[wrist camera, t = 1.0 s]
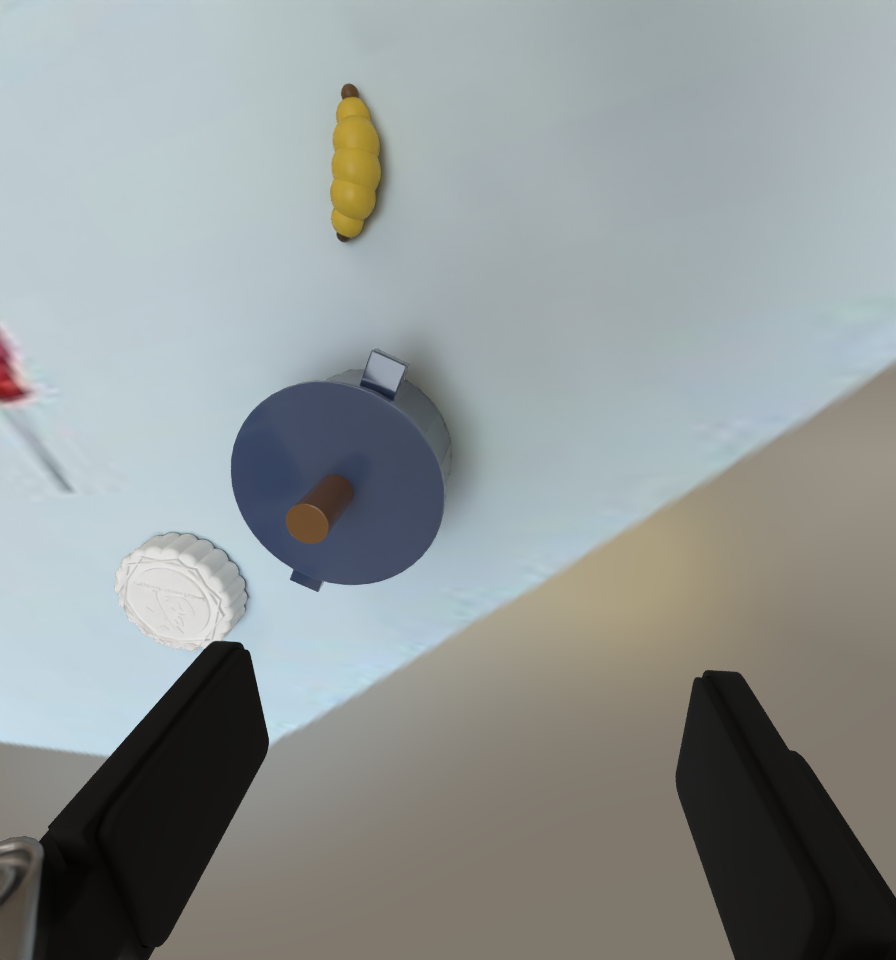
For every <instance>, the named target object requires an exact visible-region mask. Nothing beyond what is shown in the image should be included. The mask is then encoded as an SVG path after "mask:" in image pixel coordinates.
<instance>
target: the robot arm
mask: <svg viewBox="0 0 896 960" xmlns="http://www.w3.org/2000/svg"><path fill="white" fill-rule="evenodd" d="M268 746H269V737H268V733H267V728H266V724H265V719H264V715H263V710H262V705H261V701H260V696H259V692H258V687H257V683H256V678H255V673H254V669H253V664H252V660H251V655H250V652H249V651H248V650H245V649H244V647H243V645H242V644H241V643H239V642H227V641H213V642H211V643H210V644H209V645H208V646H207V647H206V648H205V649H204V650H203V651H202V653H201V654H200V655H199V656H198V657H197V658H196V659H195V661H194V662H193V663H192V664H191V665H190V666H189V667H188V668H187V670H186V671H185V672H184V673H183V674H182V675H181V676H180V678H179V679H178V680H177V681H176V682H175V683H174V684H173V686H172V687H171V688H170V689H169V690H168V691H167V692H166V693H165V695H164V696H163V697H162V698H161V699H160V700H159V701H158V703H157V704H156V705H155V706H154V707H153V708H152V709H151V710H150V712H149V713H148V714H147V715H146V716H145V717H144V718H143V720H142V721H141V722H140V723H139V724H138V725H137V726H136V727H135V729H134V730H133V731H132V732H131V733H130V734H129V735H128V737H127V738H126V739H125V740H124V741H123V742H122V743H121V744H120V746H119V747H118V748H117V749H116V750H115V751H114V752H113V754H112V755H111V756H110V757H109V758H108V759H107V760H106V762H105V763H104V764H103V765H102V766H101V767H100V768H99V770H98V771H97V772H96V773H95V774H94V775H93V776H92V777H91V779H90V780H89V781H88V782H87V783H86V784H85V785H84V786H83V788H82V789H81V790H80V791H79V792H78V793H77V794H76V796H75V797H74V798H73V799H72V800H71V801H70V802H69V804H68V805H67V806H66V807H65V808H64V809H63V810H62V811H61V813H60V814H59V815H58V816H57V817H56V818H55V819H54V821H53V822H52V823H51V824H50V825H49V826H48V828H49V831H48V832H47V833H46V834H45V835H44V836H43V837H42V838H41V840H40V841H39V842H38V841H37V840H36V839H35V838H31V837H27V836H22V837H13V838H9V839H6V840H3V841H1V842H0V960H148V959H149V958H150V956H151V954H152V952H153V950H154V949H155V947H159V946H161V945H162V944H163V943H164V942H165V941H166V940H167V938H168V937H169V935H170V933H171V932H172V930H173V928H174V926H175V924H176V922H177V920H178V919H179V917H180V915H181V913H182V911H183V909H184V907H185V906H186V904H187V902H188V900H189V898H190V896H191V894H192V893H193V891H194V889H195V887H196V885H197V883H198V881H199V880H200V877H201V875H202V874H203V872H204V870H205V868H206V866H207V865H208V863H209V861H210V859H211V857H212V855H213V853H214V851H215V850H216V848H217V846H218V844H219V842H220V840H221V839H222V836H223V835H224V833H225V831H226V829H227V827H228V826H229V823H230V822H231V820H232V818H233V816H234V814H235V812H236V811H237V809H238V807H239V805H240V803H241V801H242V799H243V798H244V796H245V794H246V792H247V790H248V788H249V786H250V785H251V783H252V781H253V779H254V777H255V775H256V773H257V772H258V770H259V768H260V766H261V764H262V762H263V760H264V759H265V756H266V754H267V751H268ZM676 787H677V792H678V795H679V799H680V802H681V804H682V807H683V810H684V813H685V816H686V819H687V822H688V825H689V827H690V830H691V833H692V836H693V839H694V842H695V845H696V848H697V851H698V853H699V856H700V859H701V862H702V865H703V868H704V871H705V874H706V877H707V879H708V882H709V885H710V888H711V891H712V894H713V897H714V900H715V903H716V906H717V908H718V911H719V914H720V917H721V920H722V923H723V926H724V929H725V931H726V934H727V937H728V940H729V943H730V946H731V949H732V952H733V955H734V958H735V960H896V897H895V896H894V894H893V893H892V891H891V890H890V888H889V887H888V885H887V884H886V882H885V881H884V879H883V878H882V876H881V874H880V873H879V871H878V870H877V868H876V867H875V865H874V864H873V862H872V861H871V859H870V858H869V856H868V855H867V853H866V851H865V850H864V848H863V847H862V845H861V844H860V842H859V841H858V839H857V838H856V836H855V835H854V833H853V832H852V830H851V828H850V827H849V825H848V824H847V822H846V821H845V819H844V818H843V816H842V815H841V813H840V812H839V810H838V809H837V807H836V805H835V804H834V802H833V801H832V799H831V798H830V796H829V795H828V793H827V792H826V790H825V789H824V787H823V786H822V784H821V783H820V781H819V780H818V778H817V776H816V775H815V773H814V772H813V770H812V769H811V767H810V766H809V764H808V763H807V762H806V761H805V759H804V758H803V757H802V756H801V755H800V754H798V753H797V752H796V751H791V750H789V749H788V748H787V746H786V744H785V743H784V741H783V739H782V738H781V736H780V735H779V733H778V731H777V730H776V728H775V727H774V725H773V724H772V722H771V720H770V719H769V717H768V716H767V714H766V712H765V711H764V709H763V708H762V706H761V705H760V703H759V701H758V700H757V698H756V697H755V695H754V694H753V692H752V690H751V689H750V687H749V685H748V684H747V682H746V681H745V679H744V678H743V676H742V675H741V674H740V673H738V672H730V671H713V670H707V671H705V672H704V673H703V676H702V678H700V677H696V678H695V679H694V682H693V686H692V692H691V697H690V703H689V707H688V712H687V718H686V723H685V728H684V734H683V738H682V744H681V749H680V755H679V759H678V765H677V770H676Z"/></svg>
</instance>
